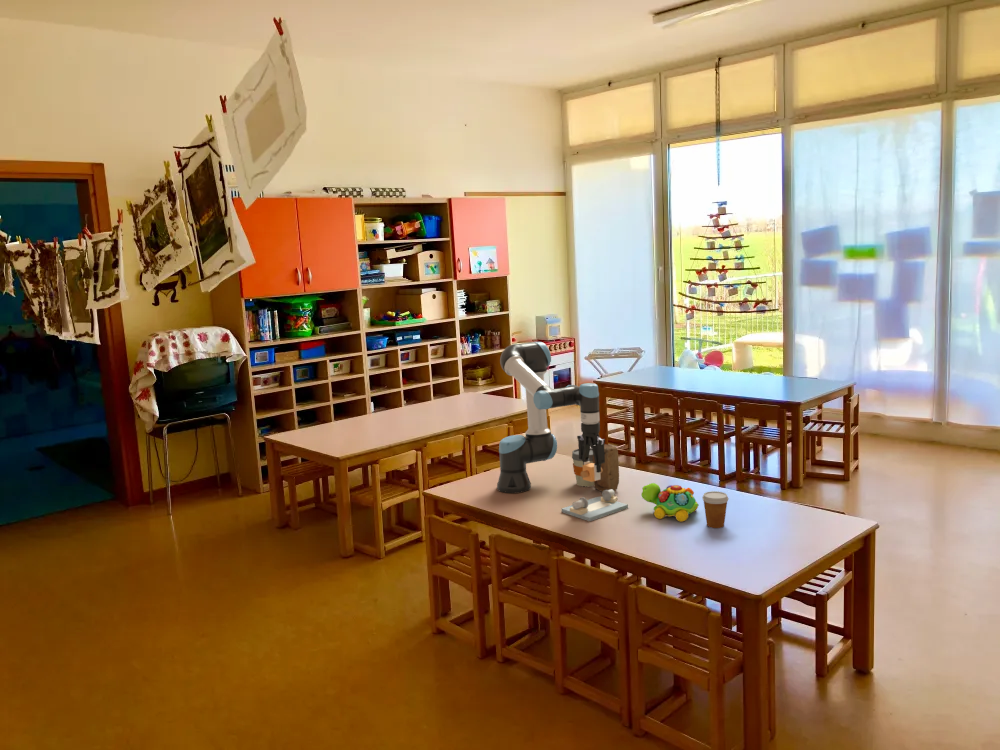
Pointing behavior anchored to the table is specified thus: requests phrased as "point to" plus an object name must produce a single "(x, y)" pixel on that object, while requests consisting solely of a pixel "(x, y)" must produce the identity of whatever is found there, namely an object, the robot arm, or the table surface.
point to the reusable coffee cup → (581, 468)
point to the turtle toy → (670, 501)
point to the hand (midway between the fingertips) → (592, 478)
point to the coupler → (588, 472)
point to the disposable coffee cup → (715, 508)
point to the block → (609, 470)
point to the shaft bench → (595, 506)
